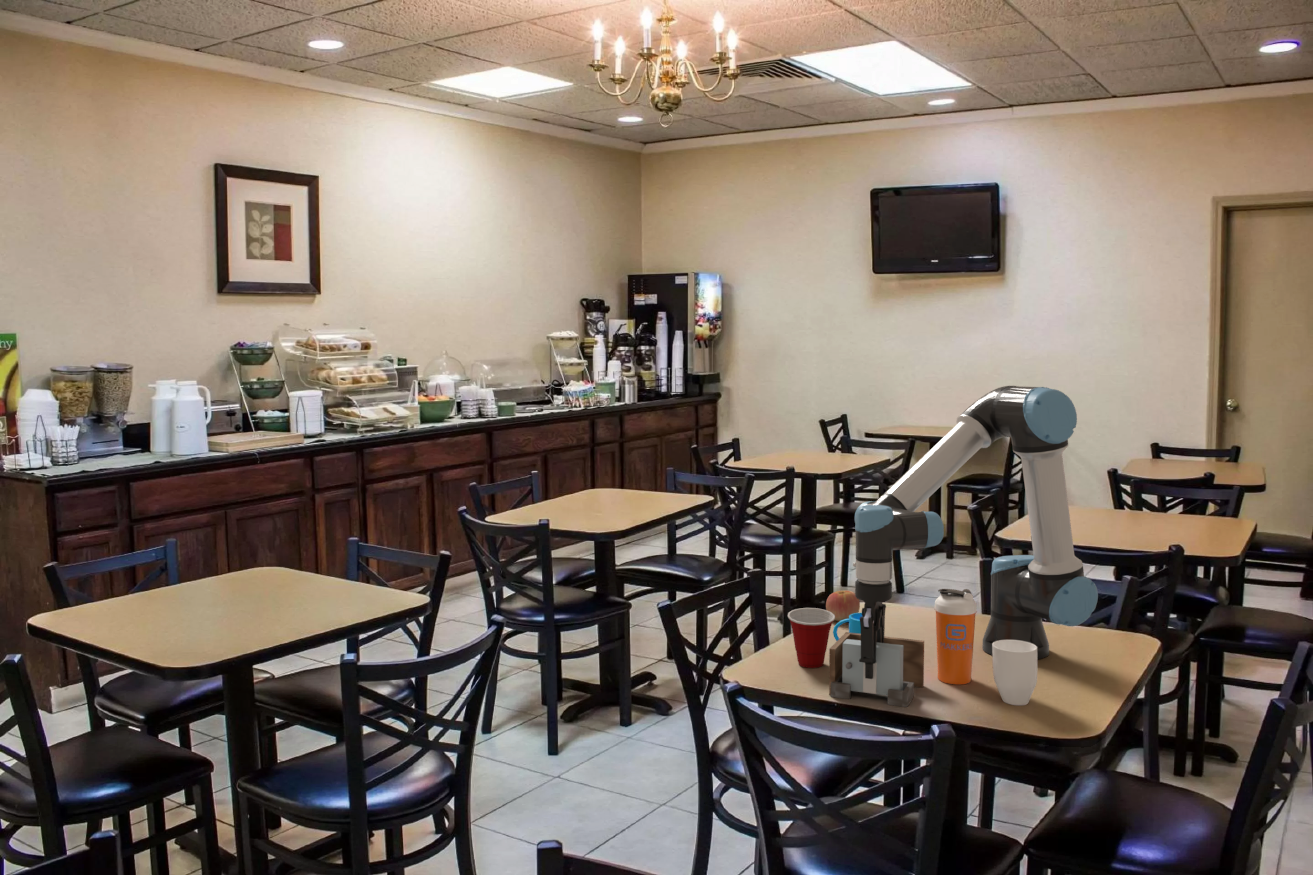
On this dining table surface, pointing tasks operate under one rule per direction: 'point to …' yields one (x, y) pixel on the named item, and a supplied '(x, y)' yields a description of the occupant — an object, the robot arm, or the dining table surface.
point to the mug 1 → (850, 624)
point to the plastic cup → (811, 634)
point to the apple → (842, 604)
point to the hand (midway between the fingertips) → (872, 689)
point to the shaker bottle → (955, 635)
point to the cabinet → (911, 678)
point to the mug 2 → (1015, 670)
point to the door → (887, 666)
